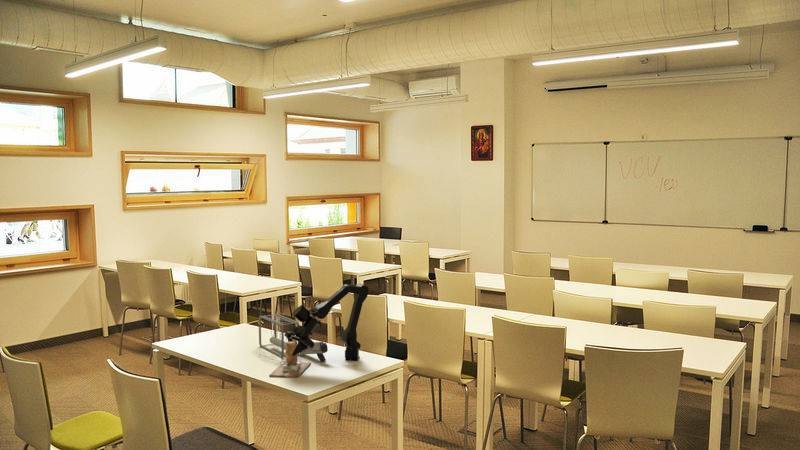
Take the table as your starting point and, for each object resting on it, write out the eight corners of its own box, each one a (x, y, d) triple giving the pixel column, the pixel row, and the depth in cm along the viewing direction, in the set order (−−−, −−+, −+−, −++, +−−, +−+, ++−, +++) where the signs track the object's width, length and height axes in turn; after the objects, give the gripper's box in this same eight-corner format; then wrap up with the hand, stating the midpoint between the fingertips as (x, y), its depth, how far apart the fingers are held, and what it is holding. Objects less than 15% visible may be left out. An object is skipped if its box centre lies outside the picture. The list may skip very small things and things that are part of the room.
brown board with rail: (311, 364, 305) (311, 357, 305) (298, 377, 284) (298, 370, 283) (284, 363, 307) (284, 356, 307) (269, 376, 286) (269, 369, 285)
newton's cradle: (300, 355, 322) (299, 322, 321) (282, 358, 316) (281, 324, 315) (276, 343, 346) (275, 312, 345) (258, 346, 340) (258, 315, 339)
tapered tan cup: (299, 365, 297) (298, 341, 296) (295, 368, 291) (295, 344, 291) (288, 365, 298) (287, 341, 297) (284, 368, 292) (284, 344, 291)
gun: (326, 361, 306) (323, 341, 307) (299, 362, 324) (296, 343, 325) (330, 360, 308) (327, 340, 309) (303, 361, 326) (300, 342, 327)
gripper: (287, 315, 302) (268, 341, 295) (309, 321, 289) (290, 348, 282) (300, 328, 308) (282, 353, 301) (322, 334, 295) (304, 361, 288)
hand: (289, 354), depth 293 cm, fingers closed on tapered tan cup, 5 cm apart
